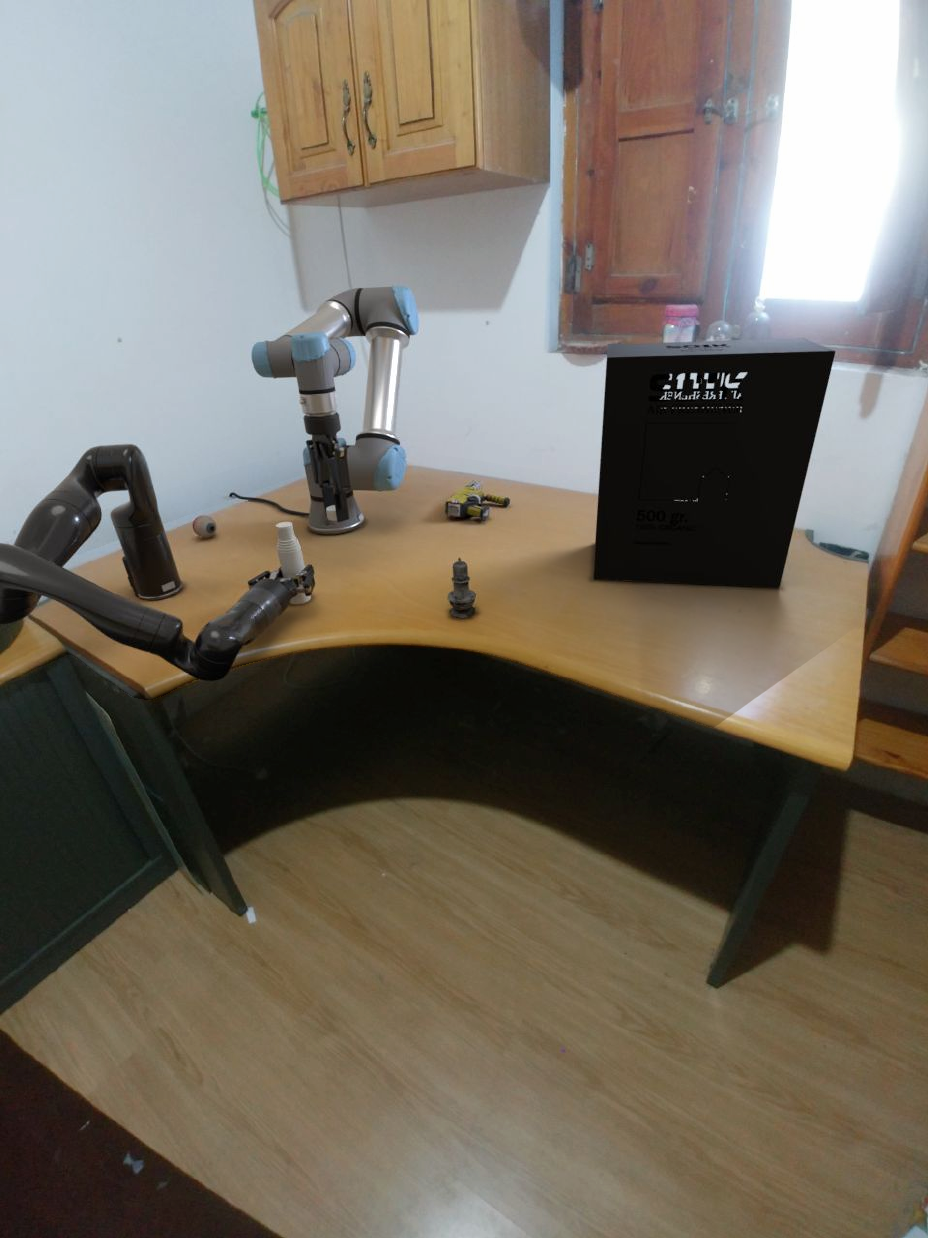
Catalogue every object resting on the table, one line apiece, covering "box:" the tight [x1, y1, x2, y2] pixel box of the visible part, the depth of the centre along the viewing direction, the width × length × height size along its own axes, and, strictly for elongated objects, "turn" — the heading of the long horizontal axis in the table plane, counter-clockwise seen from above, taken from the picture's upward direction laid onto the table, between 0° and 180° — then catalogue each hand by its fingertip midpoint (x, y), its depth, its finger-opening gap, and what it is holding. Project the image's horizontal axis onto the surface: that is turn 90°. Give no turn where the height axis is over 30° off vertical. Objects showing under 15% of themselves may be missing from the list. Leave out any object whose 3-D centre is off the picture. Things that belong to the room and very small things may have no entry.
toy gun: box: [444, 480, 511, 521], centre depth 175 cm, size 5×24×15 cm
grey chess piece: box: [446, 556, 477, 619], centre depth 120 cm, size 6×6×12 cm
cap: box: [326, 505, 337, 521], centre depth 139 cm, size 4×4×2 cm
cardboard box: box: [592, 337, 836, 589], centre depth 125 cm, size 38×20×45 cm, turn 78°
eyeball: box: [192, 514, 217, 538], centre depth 165 cm, size 6×6×6 cm
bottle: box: [275, 521, 312, 605], centre depth 127 cm, size 5×5×17 cm
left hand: (299, 567), depth 130 cm, fingers closed on bottle, 4 cm apart
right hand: (337, 517), depth 139 cm, fingers closed on cap, 4 cm apart
